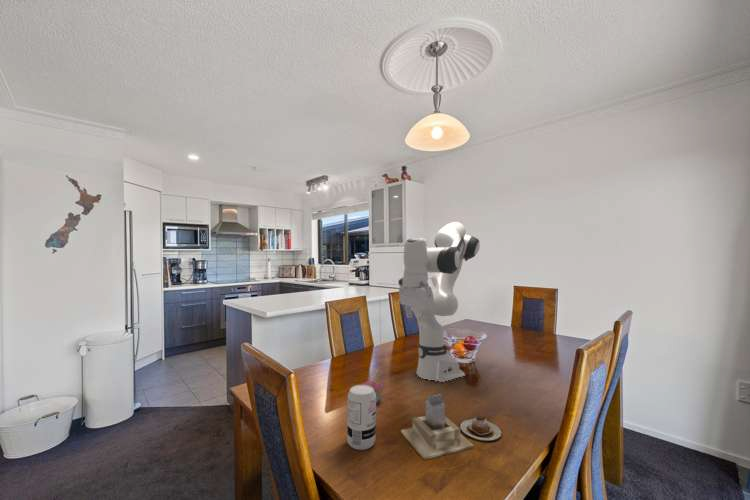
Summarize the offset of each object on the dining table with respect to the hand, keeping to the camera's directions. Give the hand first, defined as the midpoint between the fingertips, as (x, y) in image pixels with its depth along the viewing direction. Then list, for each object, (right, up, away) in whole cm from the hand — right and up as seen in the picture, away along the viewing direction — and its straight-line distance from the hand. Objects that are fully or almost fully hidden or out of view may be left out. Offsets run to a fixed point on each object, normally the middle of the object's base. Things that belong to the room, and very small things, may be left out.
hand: (415, 319), depth 110 cm
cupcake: (-16, -31, +3) cm, 35 cm away
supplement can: (-19, -30, -23) cm, 42 cm away
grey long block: (+3, -30, -21) cm, 37 cm away
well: (+3, -30, -21) cm, 37 cm away
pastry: (+18, -31, -17) cm, 40 cm away
